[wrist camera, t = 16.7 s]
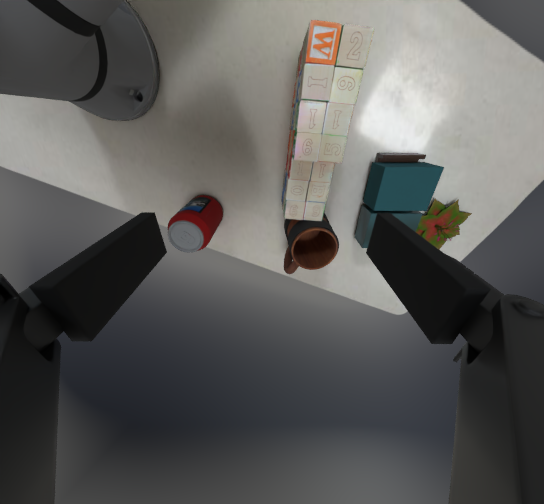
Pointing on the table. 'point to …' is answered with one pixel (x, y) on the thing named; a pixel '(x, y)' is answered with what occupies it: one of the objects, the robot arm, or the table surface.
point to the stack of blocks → (322, 113)
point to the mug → (309, 244)
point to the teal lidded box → (369, 215)
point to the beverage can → (195, 224)
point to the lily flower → (441, 223)
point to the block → (401, 186)
